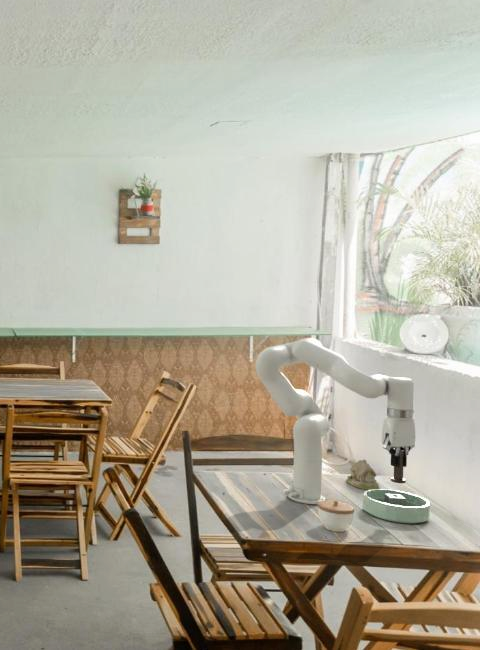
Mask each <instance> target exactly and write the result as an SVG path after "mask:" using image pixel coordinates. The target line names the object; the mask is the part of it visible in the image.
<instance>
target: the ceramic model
mask: <svg viewBox="0 0 480 650" xmlns="http://www.w3.org/2000/svg"><path fill="white" fill-rule="evenodd" d="M349 471H350V475H348V476H347V480H346V482H347V483H348V484H349V485H352V486H354V487H356V488H359V489H363V490H371V489H380V486H379V483H377V479H375V478H376V477H378V475H377V473H376V471H375V470H374V469H373V468H372V467H371V465H370V464H369V463H368V462H367V460H366V459H359V460H358V461H357V462H355V463H354V464H352V465H351V467H350V468H349Z"/></svg>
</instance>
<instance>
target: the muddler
mask: <svg viewBox="0 0 480 650" xmlns="http://www.w3.org/2000/svg"><path fill="white" fill-rule="evenodd" d="M398 456H400V467H395V466H393V476H390V481H391V482H392V483H396V484H406V483H407V479H406V478H404V467H403V462H404V451H403V450H399V455H398Z"/></svg>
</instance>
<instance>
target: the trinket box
mask: <svg viewBox="0 0 480 650" xmlns="http://www.w3.org/2000/svg"><path fill="white" fill-rule="evenodd" d="M354 513H355V508H354V506H353V505H351V504H350V503H346V502H343V501H338V500H337V499H334V500H331V499H327V500H326V499H325V500H323V501H319V502H318V504H317V516H318V519H319V521H320V522H321V524H322V525H323V526H324V528H325V529H327V530H328V531H332V532H339V533H341V532H345V531H346V530H347V529H349V528H350V526H351V525H352V524H353V521H354Z"/></svg>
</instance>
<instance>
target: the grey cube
mask: <svg viewBox="0 0 480 650" xmlns="http://www.w3.org/2000/svg"><path fill="white" fill-rule="evenodd" d="M384 503H386V504H392V505H397V506H405V507H406V499H405V498H404V497H403V496H402V495H400V494H387V493H385V499H384Z"/></svg>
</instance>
